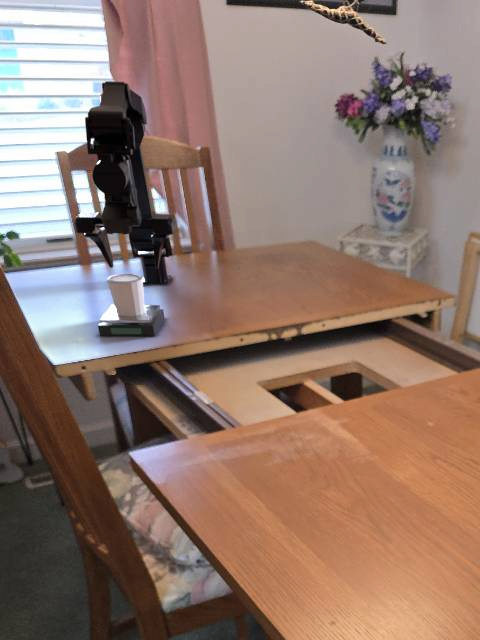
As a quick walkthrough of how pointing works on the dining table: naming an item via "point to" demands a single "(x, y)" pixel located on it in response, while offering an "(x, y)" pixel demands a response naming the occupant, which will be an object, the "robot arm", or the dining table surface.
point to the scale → (133, 327)
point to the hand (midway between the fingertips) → (134, 267)
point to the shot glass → (127, 294)
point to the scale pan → (146, 317)
